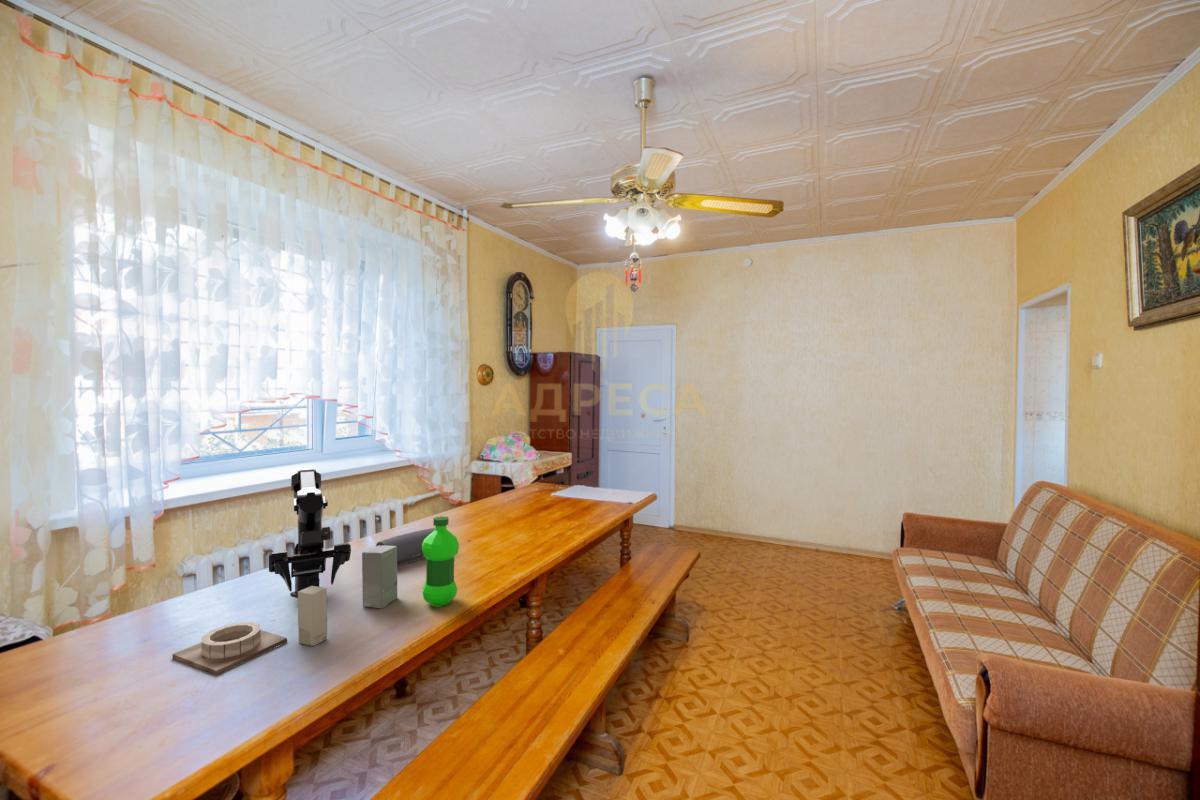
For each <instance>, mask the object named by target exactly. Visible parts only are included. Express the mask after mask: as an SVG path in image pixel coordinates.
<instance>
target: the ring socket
mask: <svg viewBox="0 0 1200 800" xmlns="http://www.w3.org/2000/svg"><path fill="white" fill-rule="evenodd" d="M285 642H286V643H288V637H285V636H281V635H280V634H275V633H272V632H269V631H266V630H263V629H261V625H260V623H256V622H252V621H249V622H248V621H247V622H245V621H244V622H242V621H241V622H236V623H230V624H226V625H222V626H219V627H217V628H215V629H211V630H210V631H208V632H207V633H206V634H204V635H203V636H202V637H201V642H199V643H197V644H196V643H195V644H194V645H191V646H189V647H186V648H184V649H181V650H179V651H176V652H174V653H172V659H173V660H176V661H178V662H181V663H183V664H186V665H189V666H191V667H194V668H196V669H199V670H202V671H204V672H207V673H209V674H212V675H214V676H218V675H219V674H222V673H224V672H226V671H229V670H231V669H233V668H235V667H237V666H239V665H241V664H243V662H244V663H245V662H248V661H249V660H252V659H254V658H257V657H258V656H261V655H263V654H264V652H265V653H266V652H269V651H270V649H271V650H273V649H275V648H277V647H279V646H278V645H280V646H282V645H284V644H286V643H285ZM283 643H284V644H283ZM281 644H282V645H281ZM276 646H277V647H276ZM274 647H275V648H274ZM262 653H263V654H262Z"/></svg>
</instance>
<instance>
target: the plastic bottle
mask: <svg viewBox="0 0 1200 800" xmlns="http://www.w3.org/2000/svg"><path fill="white" fill-rule="evenodd" d="M432 524H433V526H434V528H435V530H434V531H433V532H432V533H431V534H430V535H428V536H427V537H426V538H425V539H424V541H423V543H422V551H423V556H424V557H423V558H425V559H426V561H425V562H426V570H425V571H426V575H425V579H426V581H425V583H424V584H423V587H422V595H423V596H422V597H423V600H424V601H425V602H426V603H428V604H429V605H430V606H431V605H433V606H432V607H434V606H441V607H443V606H442V605H445V606H447V605H448V604H449V603H450V602H451V601H452V600H454V598H455V597H456V595H457V593H458V587H457V583H456V581H455V557H456V556H457V555H458V553H459V550H460V549H459V548H460V543H459V541H458V537H457V536H456V535H455V534H453V532H451V531H450V530H448V529H447V528H448V527H447V525H449V517H448V516H436V517H434V518H433V523H432ZM447 603H448V604H447ZM446 604H447V605H446Z"/></svg>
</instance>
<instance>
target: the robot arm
mask: <svg viewBox="0 0 1200 800" xmlns="http://www.w3.org/2000/svg"><path fill="white" fill-rule="evenodd" d="M290 482H291V483H290V490H291V492H292V491H293V512H296V515H297V517H298V519H297V543H296V545H294V550H293V554H289V555H288V551H287V550H282V551H273V552H271V553H269V555H268V572H269V573H274V574H275V575H279V576H280V577H281V578H282V580H283V581H284V583H285V584H286V587H287V589H288V591H289V592H290V593H289V594H290V596H293V597H295V598H296V597H297V598H298V591H300V590H303V589H305V588H308V587H310V586H317V587H320V580H321V579H320V574H324V572H326V563H327V561H326V560H327V559H330V558H332V566H331V574H330V576H331V577H330V584H331V585H332V586H333V584H334V583H335V579H336V575H337V573H338V571H339V569H340V567H341V566H342V565H344V564H345V562H349V561H350V560H351V559H350V558H351V552H352V545H351V544H350V543H349V542H343V543H335V544H333V549H328V550H324V547H325V543H324V542H325V541H329V540H331V527H330V526H324V527H323V526H322V521H323V520H322V518H323V513H324V512H323V511H324V509H326V507H328V506H329V505H328V504H329V502H328V500H327V499H326V497H325V495H323V494H322V490H321V489H322V474H321V473H319V472H318V471H317V469H315V468H302V469H298V470H297V472H296V473H294V474H292V475H291V479H290ZM293 578H294V584H295V585H294V591H293V586H292V585H293V584H292V579H293ZM292 591H293V592H292Z"/></svg>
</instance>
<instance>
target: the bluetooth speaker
mask: <svg viewBox="0 0 1200 800" xmlns="http://www.w3.org/2000/svg"><path fill="white" fill-rule="evenodd" d="M434 530H435V527H433V528H432V527H431V528H426V529H420V530H416V531H415V530H414V531H412V532H408V533H404V534H400V535H395V536H392V537H390V538H389V537H388V538H386V539H383V540H381V541H378V542H377V543H376V544H375V547H376V546H379V545H385V546H397V566H399V565H405V564H408V563H412V562H415V561H419V560H421V559H423V558H425V557H424V556H423V551H422V543H423V541H424V539H425V538H426V537H427V536H428V535H430V534H431V533H432V532H433V531H434Z"/></svg>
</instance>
